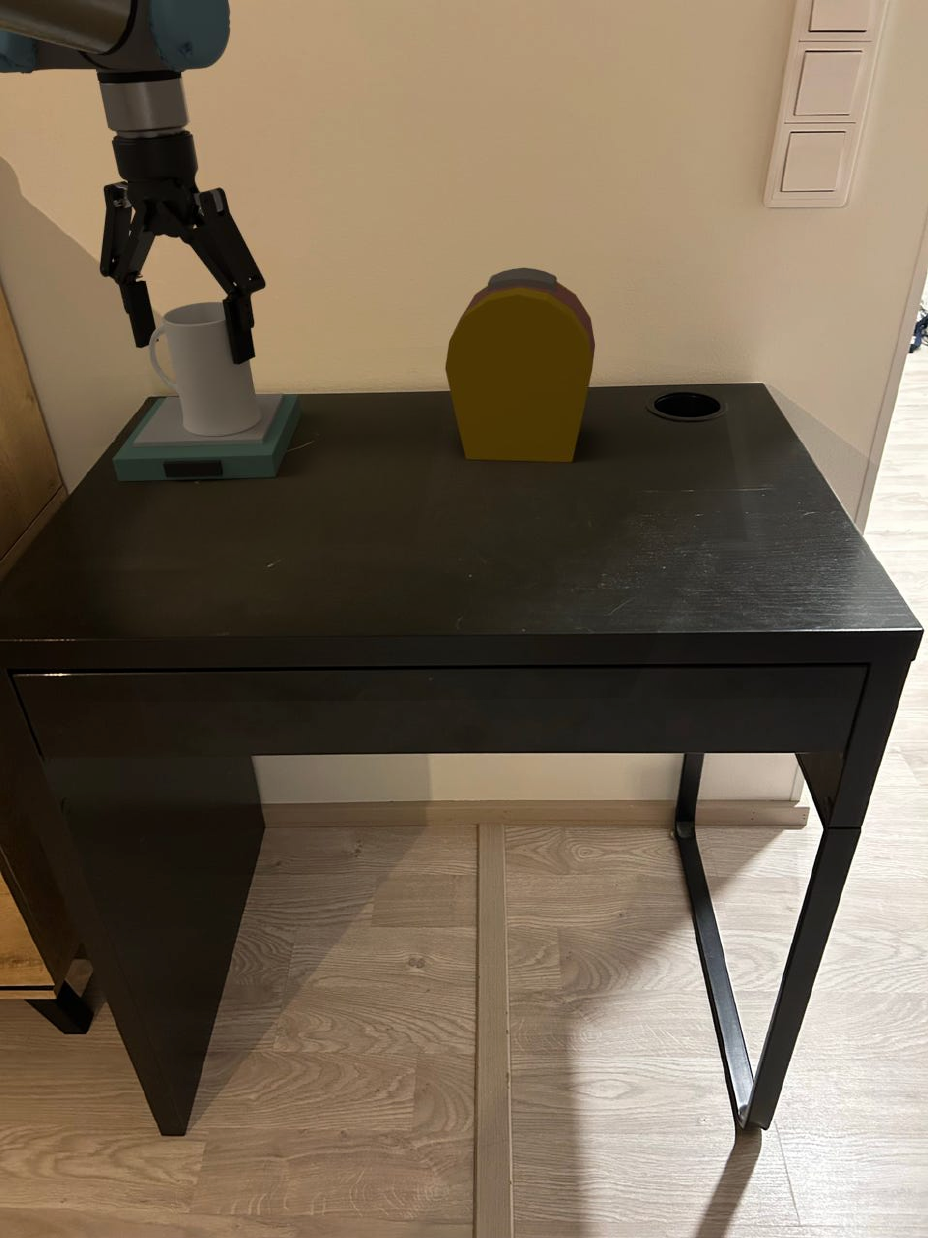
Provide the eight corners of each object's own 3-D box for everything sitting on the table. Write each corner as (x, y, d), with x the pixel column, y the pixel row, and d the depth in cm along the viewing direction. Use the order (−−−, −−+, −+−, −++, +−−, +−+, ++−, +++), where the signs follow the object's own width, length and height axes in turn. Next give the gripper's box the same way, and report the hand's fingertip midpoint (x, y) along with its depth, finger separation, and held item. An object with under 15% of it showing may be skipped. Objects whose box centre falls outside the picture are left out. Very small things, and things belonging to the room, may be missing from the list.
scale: (116, 484, 101) (108, 456, 100) (163, 418, 116) (157, 393, 114) (274, 479, 101) (269, 451, 99) (301, 414, 115) (298, 388, 113)
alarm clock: (592, 431, 108) (598, 262, 97) (588, 462, 101) (595, 285, 91) (461, 428, 110) (454, 263, 99) (449, 458, 103) (440, 285, 93)
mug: (144, 427, 106) (117, 318, 99) (192, 399, 112) (169, 295, 105) (231, 441, 101) (210, 329, 95) (276, 411, 108) (259, 304, 101)
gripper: (280, 129, 88) (310, 355, 100) (86, 122, 98) (134, 328, 110) (227, 141, 82) (265, 379, 94) (28, 132, 93) (84, 348, 105)
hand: (194, 352), depth 102 cm, fingers open, 13 cm apart
